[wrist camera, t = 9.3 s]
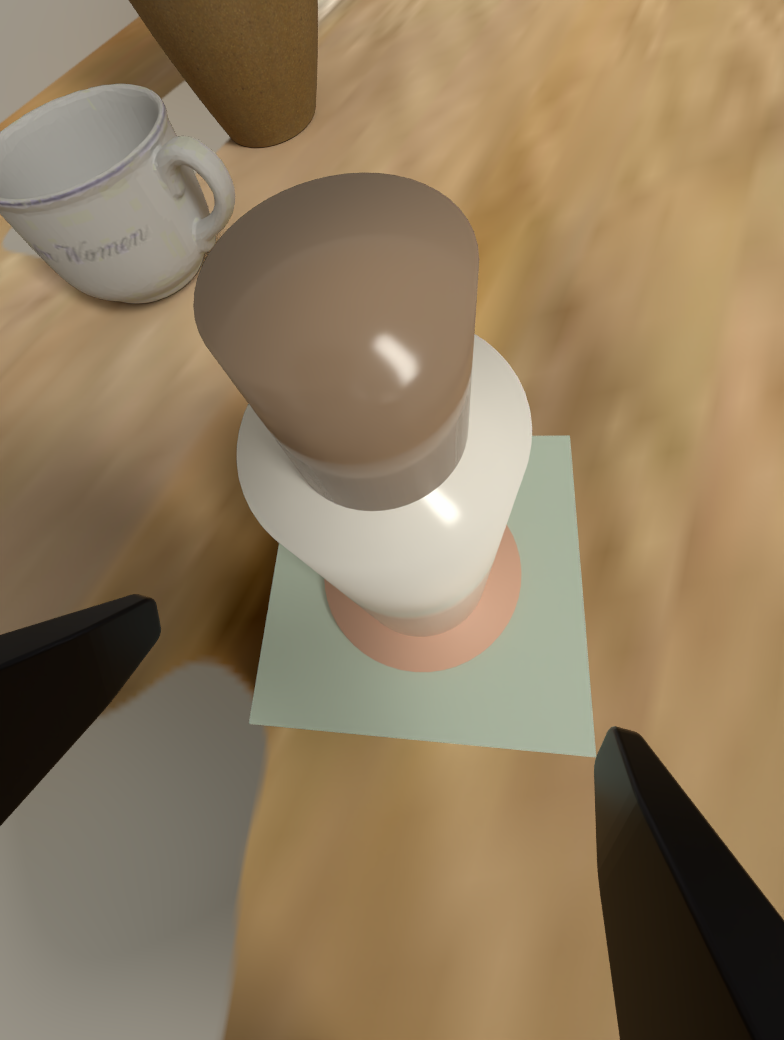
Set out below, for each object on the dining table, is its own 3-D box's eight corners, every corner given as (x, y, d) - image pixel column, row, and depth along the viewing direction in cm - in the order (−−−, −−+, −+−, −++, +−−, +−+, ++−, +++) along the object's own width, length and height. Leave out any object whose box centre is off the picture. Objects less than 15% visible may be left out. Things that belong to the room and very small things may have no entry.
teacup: (57, 306, 30) (-75, 182, 22) (147, 202, 33) (57, 61, 25) (213, 359, 26) (119, 232, 19) (299, 237, 29) (247, 84, 22)
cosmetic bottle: (486, 640, 15) (615, 493, 3) (350, 632, 16) (36, 488, 4) (485, 510, 17) (568, 94, 5) (362, 508, 18) (169, 142, 6)
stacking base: (572, 744, 17) (599, 758, 14) (279, 717, 18) (245, 724, 15) (553, 468, 21) (571, 431, 18) (315, 467, 22) (294, 434, 19)
